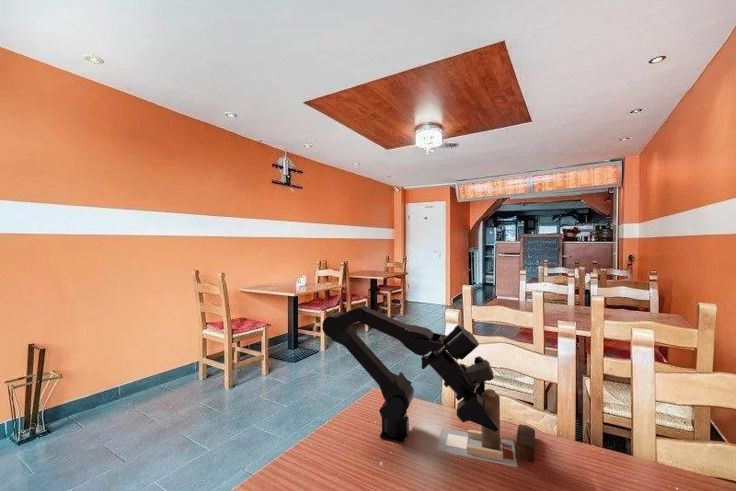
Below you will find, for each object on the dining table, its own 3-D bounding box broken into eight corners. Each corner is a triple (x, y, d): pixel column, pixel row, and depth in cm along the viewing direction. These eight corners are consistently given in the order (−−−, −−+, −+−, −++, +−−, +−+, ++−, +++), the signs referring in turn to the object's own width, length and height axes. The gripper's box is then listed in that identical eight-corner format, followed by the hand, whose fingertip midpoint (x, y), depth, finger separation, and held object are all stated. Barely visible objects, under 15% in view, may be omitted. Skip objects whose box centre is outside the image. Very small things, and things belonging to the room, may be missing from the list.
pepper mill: (481, 452, 78) (481, 393, 77) (481, 441, 82) (481, 386, 81) (500, 455, 76) (500, 396, 76) (499, 445, 80) (499, 388, 80)
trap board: (436, 455, 78) (436, 443, 78) (441, 432, 88) (441, 422, 88) (517, 472, 72) (517, 460, 72) (513, 445, 82) (513, 434, 82)
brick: (534, 468, 74) (534, 448, 74) (515, 463, 75) (515, 443, 75) (535, 443, 83) (535, 425, 83) (518, 438, 85) (518, 421, 85)
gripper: (471, 364, 71) (527, 422, 67) (474, 339, 89) (518, 384, 85) (435, 394, 74) (487, 451, 70) (445, 364, 91) (487, 409, 88)
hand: (496, 421), depth 78 cm, fingers open, 8 cm apart
